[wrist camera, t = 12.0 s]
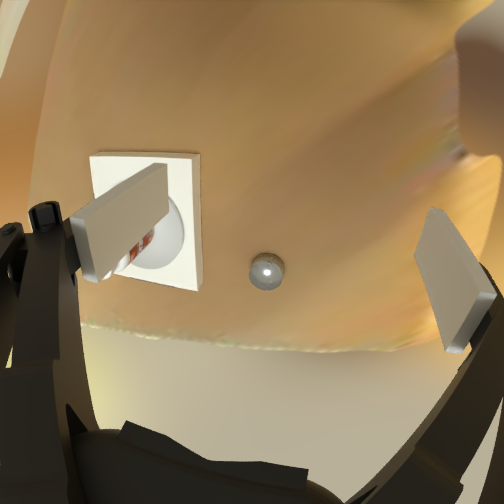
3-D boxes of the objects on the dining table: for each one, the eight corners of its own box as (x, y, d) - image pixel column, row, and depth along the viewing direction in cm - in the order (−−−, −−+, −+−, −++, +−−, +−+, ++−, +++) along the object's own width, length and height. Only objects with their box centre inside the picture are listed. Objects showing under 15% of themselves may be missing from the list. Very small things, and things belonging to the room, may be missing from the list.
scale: (98, 151, 46) (82, 158, 43) (199, 154, 43) (188, 161, 40) (115, 265, 58) (104, 277, 54) (203, 283, 55) (195, 297, 51)
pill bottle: (155, 248, 48) (118, 290, 39) (123, 240, 49) (83, 278, 39) (154, 212, 45) (112, 249, 35) (120, 205, 45) (75, 239, 36)
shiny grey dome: (253, 250, 49) (249, 260, 47) (285, 254, 49) (283, 265, 46) (252, 277, 52) (248, 287, 49) (283, 281, 51) (280, 292, 49)
